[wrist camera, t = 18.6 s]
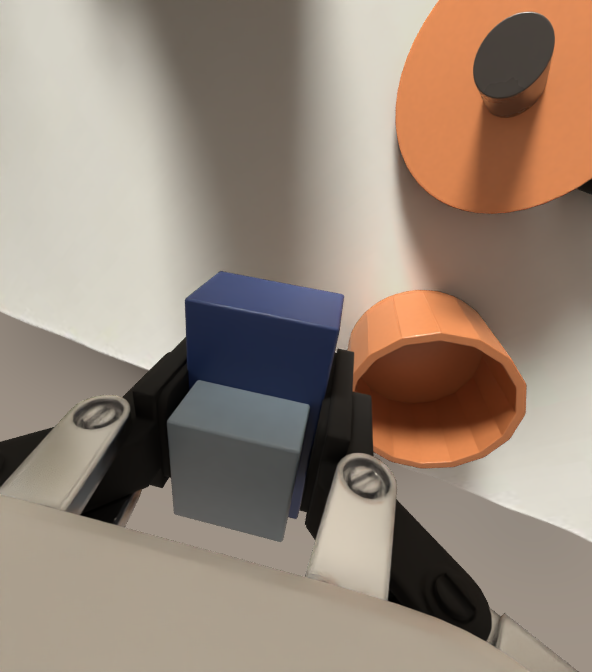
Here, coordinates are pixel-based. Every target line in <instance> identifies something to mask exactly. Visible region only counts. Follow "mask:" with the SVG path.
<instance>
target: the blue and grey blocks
mask: <svg viewBox="0 0 592 672" xmlns="http://www.w3.org/2000/svg"><path fill="white" fill-rule="evenodd" d="M343 302H344V295H342V294H338V293H333V292H328V291H322V290H317V289H312V288H307V287H301V286H296V285H291V284H286V283H280V282H275V281H270V280H265V279H259V278H254V277H249V276H244V275H238V274H233V273H228V272H223V271H220V272H218V273H217V274H216V275H215V276H213V277H212V278H211V279H210V280H208V281H207V282H206V283H204V284H203V285H202V286H201V287H199V288H198V289H197V290H195V291H194V292H193V293H192V294H190V295H189V296H188V297H187V298H186V299H185V317H186V346H187V370H188V373H189V392H188V393H187V395H186V396H185V397H184V399H183V400H182V401H181V403H180V404H179V405H178V407H177V408H176V409H175V411H174V412H173V413H172V415H171V416H170V417H169V419H168V420H167V431H168V443H169V456H170V469H171V482H172V495H173V507H174V514H176V515H180V516H183V517H187V518H191V519H194V520H199V521H202V522H206V523H210V524H214V525H217V526H221V527H225V528H229V529H232V530H236V531H240V532H244V533H248V534H252V535H256V536H259V537H263V538H267V539H271V540H274V541H278V542H281V541H283V538H284V533H285V528H286V524H287V519H288V517H290V518H294V519H296V518H297V517H298V514H299V509H300V505H301V500H302V495H303V489H304V484H305V478H306V474H307V469H308V465H309V460H310V456H311V451H312V447H313V442H314V438H315V433H316V429H317V424H318V420H319V415H320V411H321V406H322V402H323V399H324V398H325V393H326V389H327V384H328V380H329V375H330V371H331V367H332V362H333V358H334V353H335V349H336V344H337V340H338V335H339V331H340V323H341V316H342V309H343Z"/></svg>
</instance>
